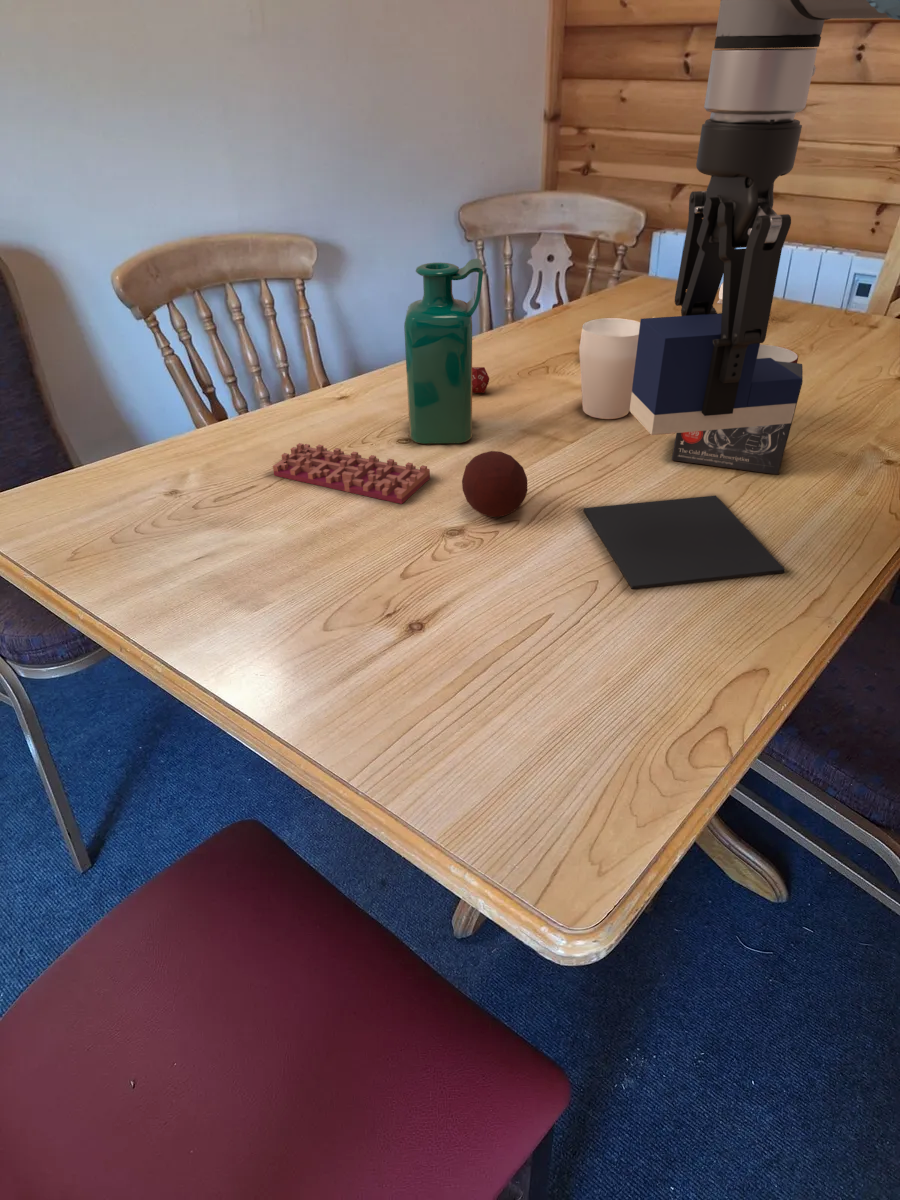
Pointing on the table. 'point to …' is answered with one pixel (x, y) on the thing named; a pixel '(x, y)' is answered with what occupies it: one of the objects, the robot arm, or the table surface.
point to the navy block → (702, 379)
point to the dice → (479, 379)
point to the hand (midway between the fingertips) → (701, 399)
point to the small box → (738, 443)
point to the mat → (679, 542)
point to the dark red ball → (494, 484)
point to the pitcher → (441, 356)
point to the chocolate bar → (352, 473)
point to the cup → (608, 366)
